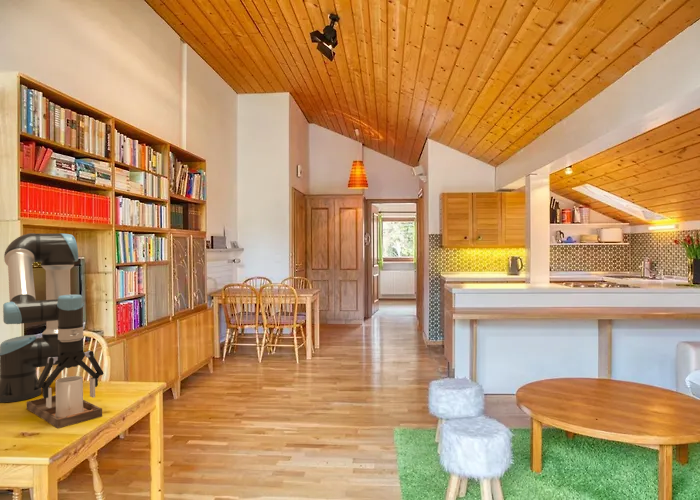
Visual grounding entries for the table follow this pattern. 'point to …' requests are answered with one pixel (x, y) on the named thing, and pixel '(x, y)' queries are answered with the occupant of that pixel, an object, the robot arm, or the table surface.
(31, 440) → the table surface
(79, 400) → the mug
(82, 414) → the rack
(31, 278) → the robot arm
